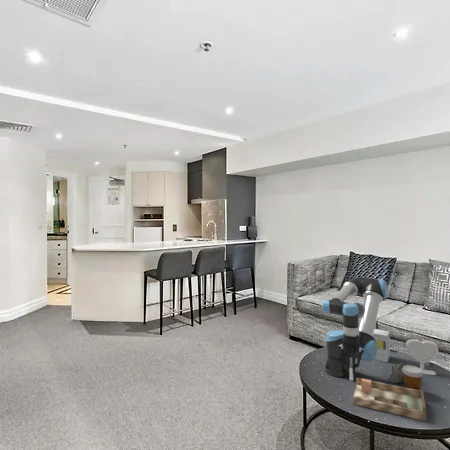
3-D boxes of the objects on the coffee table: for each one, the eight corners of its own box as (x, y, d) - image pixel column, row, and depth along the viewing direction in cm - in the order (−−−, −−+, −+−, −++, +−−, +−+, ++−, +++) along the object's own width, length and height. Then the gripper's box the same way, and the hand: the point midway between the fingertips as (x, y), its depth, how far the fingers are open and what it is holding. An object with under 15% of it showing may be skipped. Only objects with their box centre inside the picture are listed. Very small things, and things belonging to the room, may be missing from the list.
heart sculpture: (407, 370, 186) (407, 340, 185) (406, 367, 190) (406, 337, 190) (438, 375, 179) (438, 344, 179) (437, 371, 184) (436, 340, 184)
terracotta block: (361, 390, 162) (361, 382, 162) (362, 386, 166) (361, 378, 165) (370, 392, 160) (370, 384, 160) (371, 388, 164) (371, 380, 163)
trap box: (353, 403, 155) (353, 392, 155) (356, 387, 169) (356, 377, 169) (425, 421, 141) (425, 409, 141) (423, 402, 155) (422, 391, 155)
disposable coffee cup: (423, 399, 157) (423, 375, 157) (401, 394, 162) (401, 370, 162) (423, 390, 165) (423, 367, 165) (402, 385, 170) (402, 363, 170)
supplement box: (371, 358, 202) (370, 332, 202) (373, 353, 210) (373, 328, 209) (387, 362, 197) (387, 335, 196) (390, 357, 204) (389, 331, 204)
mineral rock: (414, 377, 178) (414, 360, 178) (419, 387, 168) (419, 368, 168) (388, 374, 182) (388, 357, 182) (392, 384, 172) (391, 365, 172)
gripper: (336, 334, 165) (337, 379, 165) (363, 338, 159) (364, 385, 159) (338, 330, 171) (339, 373, 172) (365, 333, 165) (365, 378, 166)
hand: (351, 379), depth 166 cm, fingers closed
